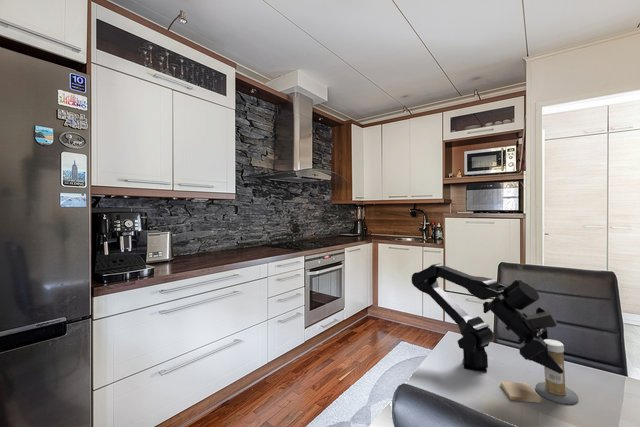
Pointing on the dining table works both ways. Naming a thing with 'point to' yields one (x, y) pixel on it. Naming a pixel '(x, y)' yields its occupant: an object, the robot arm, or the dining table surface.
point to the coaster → (565, 399)
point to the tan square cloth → (520, 392)
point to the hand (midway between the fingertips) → (561, 365)
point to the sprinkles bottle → (552, 378)
